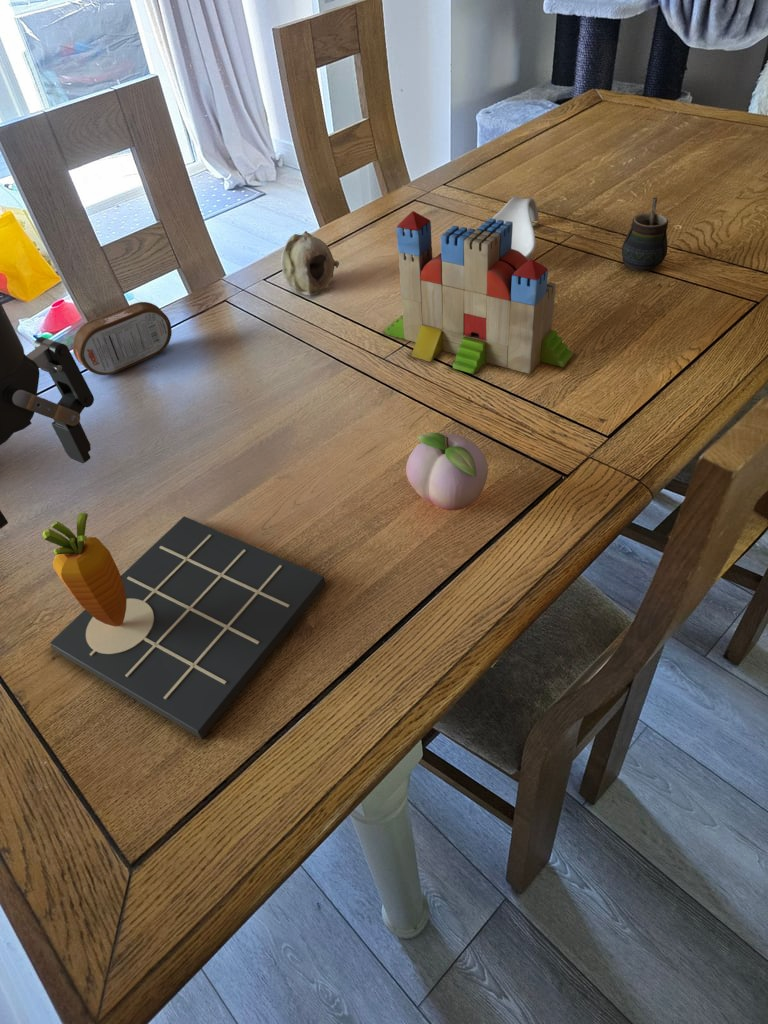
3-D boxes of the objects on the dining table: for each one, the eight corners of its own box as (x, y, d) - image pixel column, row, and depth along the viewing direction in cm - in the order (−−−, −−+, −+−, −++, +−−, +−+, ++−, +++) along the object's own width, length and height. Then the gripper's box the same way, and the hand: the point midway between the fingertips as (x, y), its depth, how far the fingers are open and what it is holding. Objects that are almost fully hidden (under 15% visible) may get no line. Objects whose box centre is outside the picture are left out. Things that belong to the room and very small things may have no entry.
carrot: (141, 598, 73) (86, 495, 62) (147, 634, 69) (90, 531, 59) (92, 614, 72) (29, 512, 61) (96, 652, 68) (30, 550, 58)
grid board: (55, 651, 71) (48, 642, 69) (187, 524, 82) (183, 515, 81) (202, 739, 62) (197, 731, 61) (326, 585, 74) (324, 575, 73)
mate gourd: (620, 276, 117) (630, 216, 110) (617, 255, 122) (627, 197, 115) (665, 276, 115) (678, 216, 108) (661, 256, 120) (673, 196, 113)
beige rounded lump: (291, 306, 123) (261, 258, 116) (308, 276, 127) (280, 228, 120) (334, 297, 118) (306, 246, 111) (351, 266, 122) (324, 216, 116)
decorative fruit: (502, 500, 81) (507, 432, 74) (459, 541, 77) (460, 474, 70) (439, 468, 86) (438, 402, 79) (396, 505, 82) (390, 438, 75)
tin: (171, 340, 113) (155, 292, 107) (180, 347, 111) (165, 298, 105) (84, 378, 107) (62, 329, 101) (92, 386, 105) (70, 337, 99)
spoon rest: (524, 285, 117) (527, 243, 112) (457, 277, 121) (457, 237, 115) (555, 227, 132) (559, 188, 127) (495, 221, 136) (496, 183, 130)
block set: (581, 345, 103) (600, 214, 89) (541, 395, 95) (555, 259, 81) (419, 304, 115) (414, 183, 101) (371, 345, 107) (359, 220, 94)
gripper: (-9, 255, 51) (76, 428, 63) (-202, 351, 43) (-64, 531, 54) (59, 273, 48) (135, 452, 60) (-134, 381, 40) (-3, 565, 51)
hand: (40, 489), depth 57 cm, fingers open, 8 cm apart
